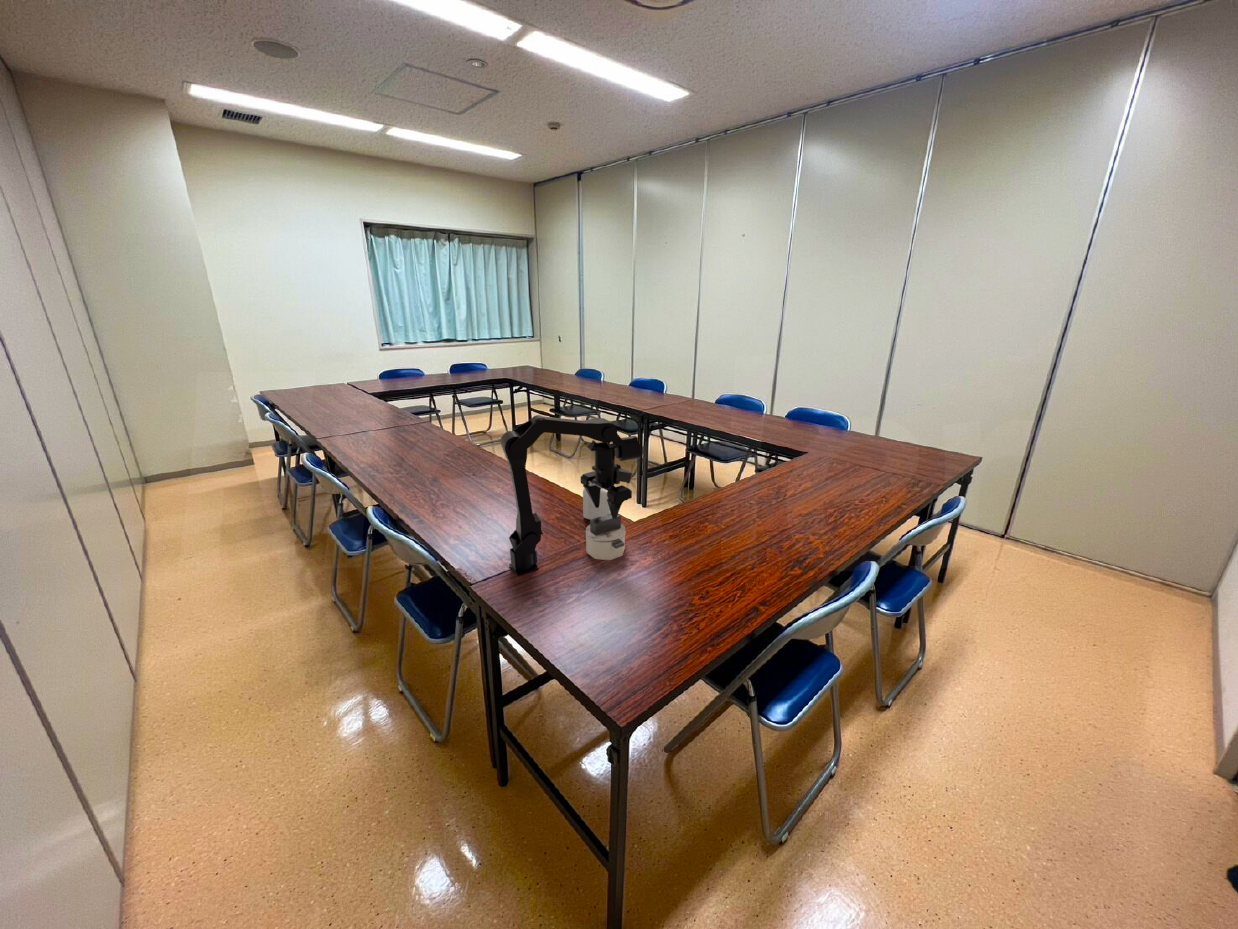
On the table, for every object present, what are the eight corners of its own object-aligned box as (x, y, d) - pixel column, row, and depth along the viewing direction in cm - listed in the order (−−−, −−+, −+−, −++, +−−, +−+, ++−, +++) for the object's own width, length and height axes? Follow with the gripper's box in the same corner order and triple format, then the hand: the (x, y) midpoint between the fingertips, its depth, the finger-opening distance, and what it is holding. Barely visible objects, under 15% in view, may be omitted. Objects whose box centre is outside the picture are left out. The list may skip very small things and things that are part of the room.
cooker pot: (604, 566, 136) (604, 548, 134) (577, 545, 147) (577, 528, 145) (635, 555, 142) (635, 537, 140) (607, 535, 153) (606, 519, 151)
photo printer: (613, 520, 164) (612, 487, 160) (606, 525, 160) (606, 491, 156) (588, 513, 169) (587, 481, 165) (581, 518, 165) (580, 485, 161)
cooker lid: (599, 546, 135) (599, 530, 133) (578, 530, 144) (577, 515, 142) (633, 534, 141) (633, 519, 139) (610, 520, 150) (610, 505, 149)
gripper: (647, 466, 132) (646, 516, 137) (609, 449, 147) (610, 496, 152) (614, 474, 126) (615, 527, 131) (578, 456, 141) (580, 504, 146)
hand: (605, 512), depth 140 cm, fingers open, 9 cm apart
